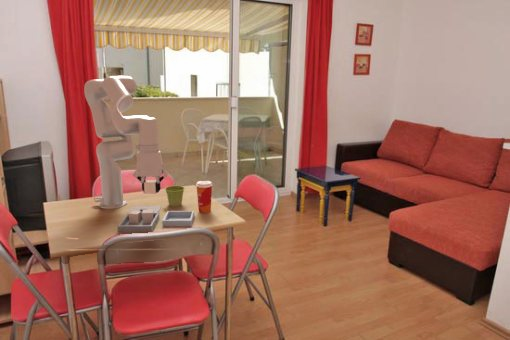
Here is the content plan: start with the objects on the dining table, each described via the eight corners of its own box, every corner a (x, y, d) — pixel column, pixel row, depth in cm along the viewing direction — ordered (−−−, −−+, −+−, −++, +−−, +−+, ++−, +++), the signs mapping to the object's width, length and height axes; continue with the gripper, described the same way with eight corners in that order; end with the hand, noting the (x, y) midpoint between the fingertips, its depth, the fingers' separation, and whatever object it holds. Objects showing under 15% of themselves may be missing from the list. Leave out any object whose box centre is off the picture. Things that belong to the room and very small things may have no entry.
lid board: (124, 218, 178) (124, 214, 178) (132, 208, 192) (132, 204, 191) (155, 218, 179) (155, 214, 178) (161, 207, 192) (161, 204, 192)
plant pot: (187, 202, 201) (186, 185, 199) (182, 208, 192) (181, 191, 190) (169, 201, 202) (168, 185, 200) (163, 207, 192) (162, 190, 190)
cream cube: (144, 193, 163) (143, 182, 162) (147, 190, 168) (146, 180, 167) (155, 193, 163) (155, 183, 162) (158, 190, 168) (157, 180, 167)
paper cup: (197, 208, 192) (196, 180, 189) (213, 208, 193) (212, 180, 189) (196, 214, 184) (195, 184, 181) (212, 213, 185) (212, 184, 182)
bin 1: (118, 233, 162) (117, 226, 161) (128, 219, 177) (128, 212, 177) (152, 233, 162) (151, 226, 162) (159, 219, 178) (159, 212, 177)
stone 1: (129, 222, 172) (128, 213, 171) (133, 219, 176) (132, 210, 175) (138, 223, 171) (137, 214, 170) (141, 219, 175) (141, 211, 174)
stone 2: (142, 223, 171) (142, 213, 170) (143, 219, 175) (142, 209, 174) (153, 222, 172) (152, 212, 171) (154, 218, 176) (153, 209, 175)
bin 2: (162, 227, 168) (162, 220, 168) (167, 217, 180) (167, 211, 179) (191, 227, 169) (191, 220, 168) (194, 217, 181) (194, 210, 180)
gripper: (125, 149, 158) (128, 194, 162) (168, 150, 158) (170, 194, 162) (130, 146, 165) (133, 189, 169) (171, 146, 165) (173, 189, 169)
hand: (151, 191), depth 166 cm, fingers closed on cream cube, 4 cm apart
